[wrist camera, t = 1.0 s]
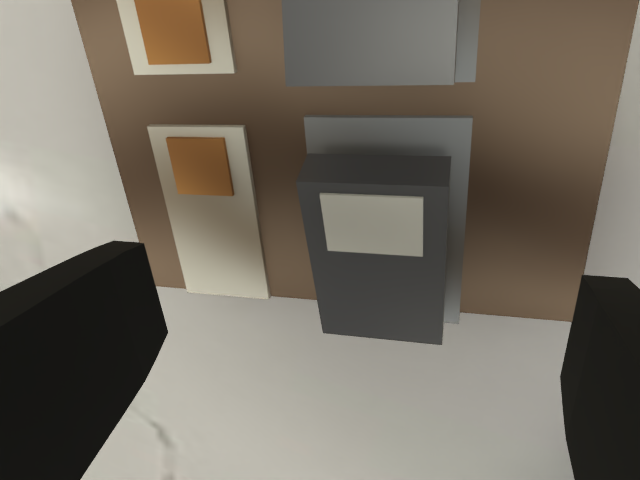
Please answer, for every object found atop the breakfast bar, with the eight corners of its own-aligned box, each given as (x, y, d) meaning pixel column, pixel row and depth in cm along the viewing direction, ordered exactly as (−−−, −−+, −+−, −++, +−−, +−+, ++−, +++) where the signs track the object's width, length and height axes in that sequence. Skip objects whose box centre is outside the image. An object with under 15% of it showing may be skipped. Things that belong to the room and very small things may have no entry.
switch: (444, 312, 17) (441, 347, 16) (331, 303, 17) (322, 334, 17) (451, 156, 13) (449, 188, 12) (307, 153, 14) (295, 183, 13)
